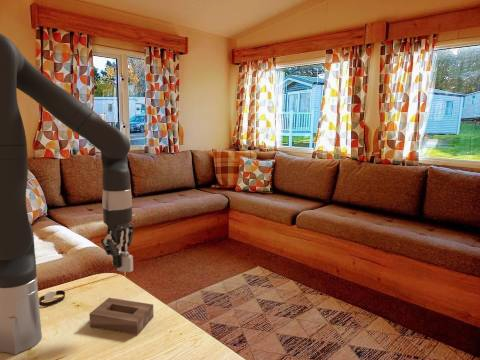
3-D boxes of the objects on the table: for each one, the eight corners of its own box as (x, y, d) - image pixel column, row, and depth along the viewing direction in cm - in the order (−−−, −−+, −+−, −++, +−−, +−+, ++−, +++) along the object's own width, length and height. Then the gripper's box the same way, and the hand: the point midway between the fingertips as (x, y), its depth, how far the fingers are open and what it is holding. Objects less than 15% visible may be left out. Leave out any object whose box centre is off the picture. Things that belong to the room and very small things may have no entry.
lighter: (133, 269, 99) (132, 242, 98) (130, 272, 97) (129, 244, 96) (110, 266, 100) (109, 240, 99) (107, 269, 99) (105, 242, 97)
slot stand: (137, 335, 95) (137, 321, 94) (90, 326, 98) (89, 313, 98) (153, 316, 104) (153, 304, 103) (109, 309, 107) (108, 297, 107)
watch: (61, 295, 116) (60, 284, 115) (68, 300, 113) (67, 289, 112) (36, 304, 110) (35, 293, 109) (43, 309, 107) (42, 298, 106)
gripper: (118, 198, 103) (121, 254, 106) (89, 210, 90) (92, 274, 93) (142, 200, 101) (144, 257, 104) (115, 212, 88) (118, 277, 91)
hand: (119, 265), depth 99 cm, fingers closed on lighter, 2 cm apart
